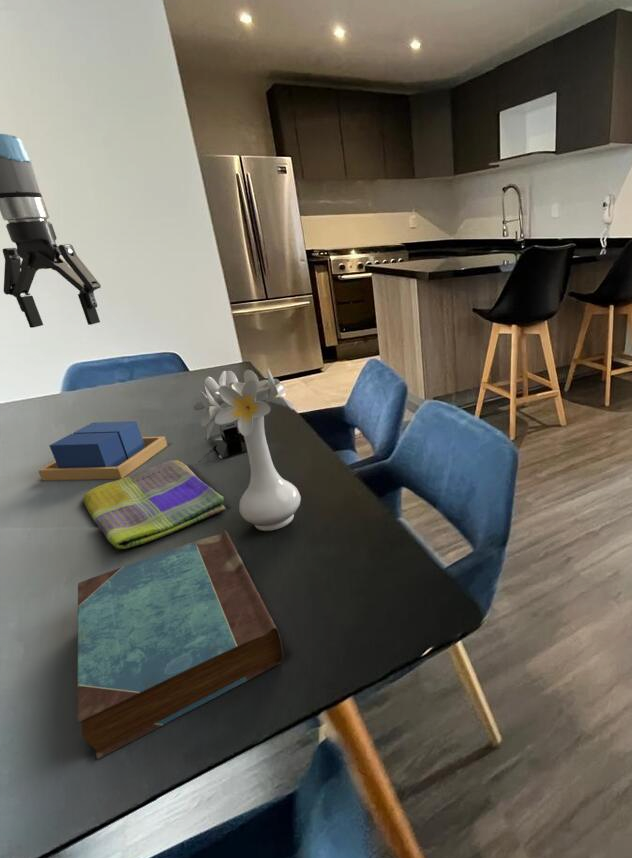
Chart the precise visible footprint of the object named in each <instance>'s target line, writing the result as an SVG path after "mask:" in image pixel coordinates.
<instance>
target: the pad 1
mask: <svg viewBox="0 0 632 858" xmlns="http://www.w3.org/2000/svg"><path fill="white" fill-rule="evenodd" d="M48 446H49V449H50V451H51V454H52V456H53V458H54V461H56V463H57V465H58V468H90V467H117V466H119V465H120V464H122V463H123V462H125V461H126V460H127V459H126V456H125V453H124V450H123V447H122V445H121V442H120V439H119V436H118V433H117V432H116V433H86V434H73V433H70V434H69V435H66V436H64V437H63V438H61V439H58V440H57V441H55V442H53V443H51V444H49V445H48Z"/></svg>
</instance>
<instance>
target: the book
mask: <svg viewBox="0 0 632 858" xmlns="http://www.w3.org/2000/svg"><path fill="white" fill-rule="evenodd" d="M283 662H284V650H283V644H282V639H281V636H280V633H279V630H278V628H277V626H276V624H275V622H274V620H273V618H272V616H271V614H270V613H269V610H268V609H267V606H266V604H265V603H264V600H263V599H262V597H261V594H260V592H259V591H258V589H257V587H256V585H255V583H254V581H253V579H252V577H251V575H250V574H249V571H248V570H247V568H246V566H245V564H244V561H243V559H242V558H241V556H240V554H239V552H238V550H237V548H236V546H235V544H234V542H233V540H232V538H231V536H230V534H229V532H228V531H227V530H222V531H221V532H220V533H218V534H217V535H212V536H208V537H204V538H202V539H199V540H195V541H192V542H189V543H185V544H183V545H181V546H178V547H174V548H172V549H169V550H166V551H163V552H160V553H158V554H155V555H151V556H149V557H147V558H144V559H141V560H138V561H136V562H133V563H129V564H126V565H124V566H120V567H118V568H116V569H113V570H110V571H108V572H107V571H106V572H105V573H102V574H99V575H96V576H94V577H93V576H92V577H91V578H87V579H85V580H82V581H79V582H78V583H77V685H76V686H77V689H76V690H77V693H76V694H77V696H76V697H77V699H76V700H77V701H76V702H77V704H76V706H77V707H76V708H77V709H76V710H77V711H76V712H77V723H81V734H82V737H83V740H84V741H85V742H86V743H87V744H88V745H89V746H91V747H92V748H93V749H94V750H95V758H96V760H99V759H102V758H103V757H106V756H107V755H109V754H111V753H113V752H116V751H117V750H119V749H121V748H123V747H124V746H127V745H128V744H130V743H132V742H134V741H136V740H138V739H140V738H142V737H144V736H145V735H147V734H150V733H151V732H153V731H155V730H157V729H159V728H161V727H163V726H164V725H166V724H168V723H171V722H172V721H174V720H176V719H178V718H181V717H182V716H184V715H186V714H188V713H190V712H192V711H193V710H195V709H197V708H200V707H201V706H203V705H205V704H206V703H208V702H210V701H212V700H214V699H216V698H218V697H220V696H222V695H224V694H226V693H227V692H230V691H232V690H233V689H236V688H237V687H239V686H241V685H243V684H244V683H246V682H248V681H250V680H252V679H254V678H256V677H258V676H259V675H261V674H263V673H264V672H267V671H268V670H270V669H272V668H274V667H276V666H279V665H281V664H282V663H283Z"/></svg>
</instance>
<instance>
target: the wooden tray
mask: <svg viewBox="0 0 632 858" xmlns="http://www.w3.org/2000/svg"><path fill="white" fill-rule="evenodd" d="M142 439H143V442H144V445H145V448H144V449H142V450H141V451H139V452H138V453H137V454H135V455H134V456H132V457H131V458H129V459H128V460H126V461H125V462H123V463H122V464H120V465H119V466H117V467H90V468H58V465H57V463H56V461H55V460H54V461H53V462H51V463H49V464H47V465H45V466H43V467H42V468H40V469H39V470H38V473H39V476H40V478H41V480H42V481H47V482H48V481H80V480H81V481H82V480H88V481H89V480H120V479H123V478H126V477H127V476H128V475H129V474H130V473H132V472H133V471H134V470H136V469H137V468H139V467H140V466H141V465H143V464H144V463H146V462H147V461H148V460H150V459H151V458H153V457H154V456H155V455H156V454H158V453H160V452H161V451H162V450H163V449H165V448H166V447H168V443H167V440H166V436H142Z"/></svg>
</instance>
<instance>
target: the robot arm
mask: <svg viewBox="0 0 632 858" xmlns="http://www.w3.org/2000/svg"><path fill="white" fill-rule="evenodd" d="M33 167H34V166H33V165H32V160H31V159H30V156H29V154H28V152H27V149H26V147H25V144H24V142H23V140H21V138H19V137H17V136H15V135H13V134H8V133H7V134H6V133H0V214H1V217H2V219H3V221H7V223H6V225H5V228H6V229H7V233H8V235H9V238H10V241H11V242H12V243H13V244H15V245H16V247H5V248H2V254H3V258H4V274H3V293H4V294H5V295H7V296H8V295H10V296H12V297H15V299H16V301H17V304H18V306H19V308H20V311H21V312H22V313H24V316H25V318H26V321H27V323H28V326H29V328H30V329H31V328H33V329H34V328H37V327H41V326H44V322H43V319H42V317H41V315H40V313H39V310H38V307H37V304H36V302H35V299H34V296H33V295H31V293H30V289H31V286H32V284H33V281H34V279H35V276H36V273H37V272H38V271H39V270H49V269H51V270H53V271H55V272H56V273H58V274H59V276H61V277H63V278H64V279H65V280H66V281H68V283H70V284H71V285H72V286H73V287H74V288H75V289H77V290H78V292H79V293H78V294H77V297H78V300H79V302H80V305H81V308H82V312H83V314H84V317H85V320H86V322H87V325H88V326H92V325H95V324H98V323H99V324H100V323H101V320H100V317H99V314H98V310H97V308H98V303H97V300H96V297H95V294H94V292H95V291H96V290H99V289H101V284H100V282H99V281H98V280H97V279H96V277H95V276H94V275H93V274H92V272H91V271H90V270H89V268H88V267H87V266H86V265H85V263H84V262H83V261H82V260H81V258H80V257H79V256H78V255H77V253H76V250H75V248H74V246H73V245H72V244H71V243H67V244H59V245H58V244H57V243H56V241H57V239H58V237H57V235H56V232H55V228H54V226H53V223H51V222H50V221H48V219H50V215H49V211H48V209H47V206H46V204H45V200H44V198H43V195H42V193H41V191H40V188H39V185H38V180H37V178H36V177H37V176H36V174H35V171H34V168H33ZM61 256H62V257H61Z"/></svg>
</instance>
